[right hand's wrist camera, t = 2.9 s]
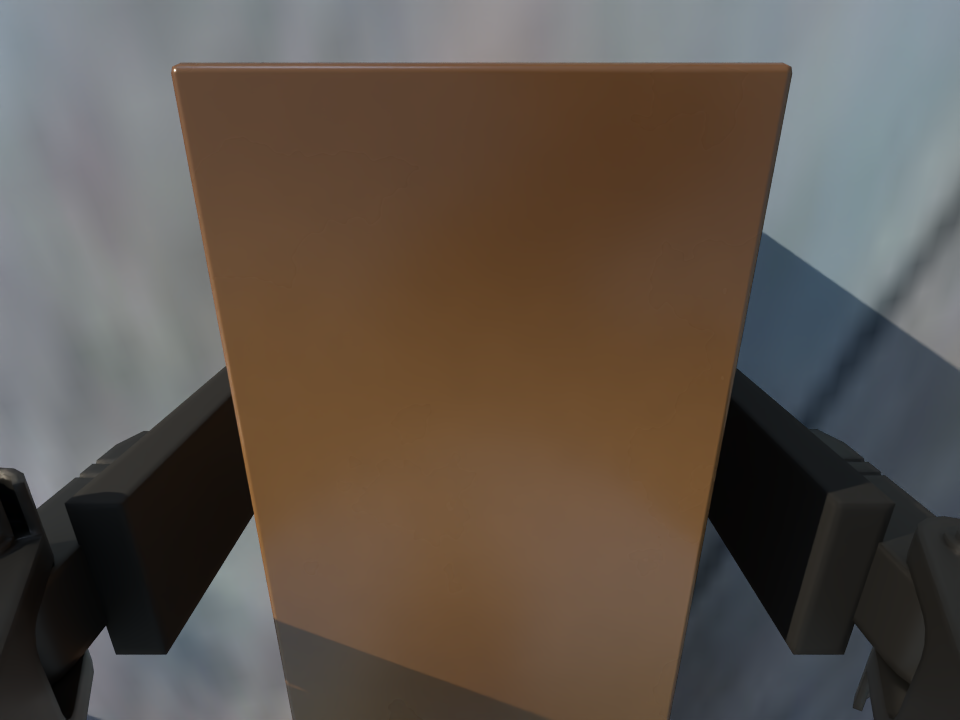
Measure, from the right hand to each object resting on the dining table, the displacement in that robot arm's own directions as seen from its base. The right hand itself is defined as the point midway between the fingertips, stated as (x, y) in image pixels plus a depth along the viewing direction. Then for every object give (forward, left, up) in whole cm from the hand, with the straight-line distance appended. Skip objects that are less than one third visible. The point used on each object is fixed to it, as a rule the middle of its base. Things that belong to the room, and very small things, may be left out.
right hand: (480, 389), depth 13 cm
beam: (+2, +20, -1) cm, 20 cm away
